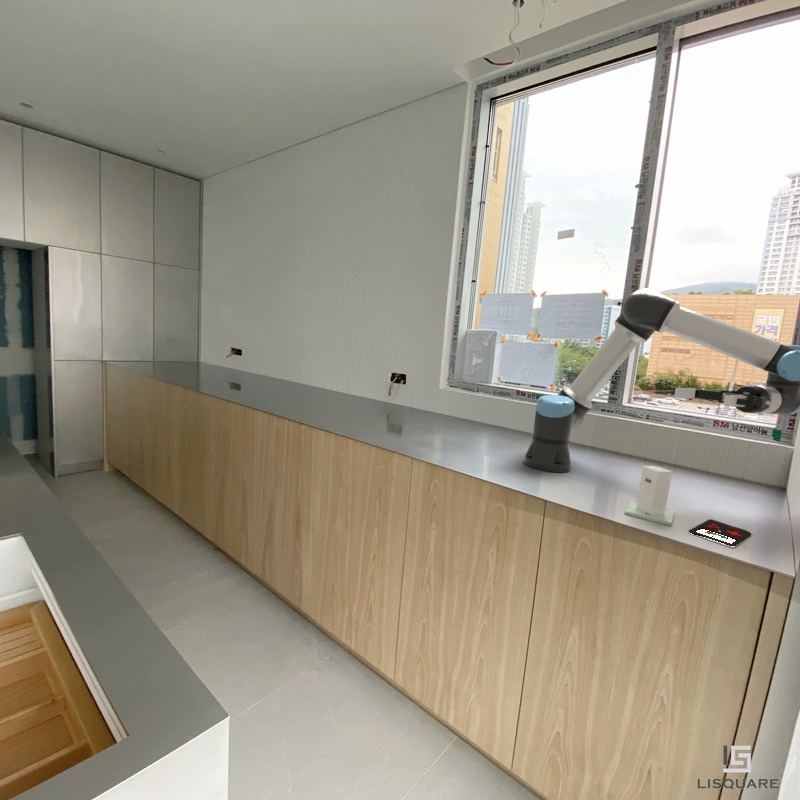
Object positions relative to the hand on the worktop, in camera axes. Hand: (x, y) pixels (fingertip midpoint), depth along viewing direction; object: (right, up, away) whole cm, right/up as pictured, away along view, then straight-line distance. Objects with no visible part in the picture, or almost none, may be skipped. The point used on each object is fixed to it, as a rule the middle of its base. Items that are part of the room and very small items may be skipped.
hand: (699, 396), depth 117 cm
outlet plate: (-15, -30, -4) cm, 34 cm away
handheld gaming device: (-3, -33, -12) cm, 35 cm away
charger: (-15, -29, -4) cm, 33 cm away
